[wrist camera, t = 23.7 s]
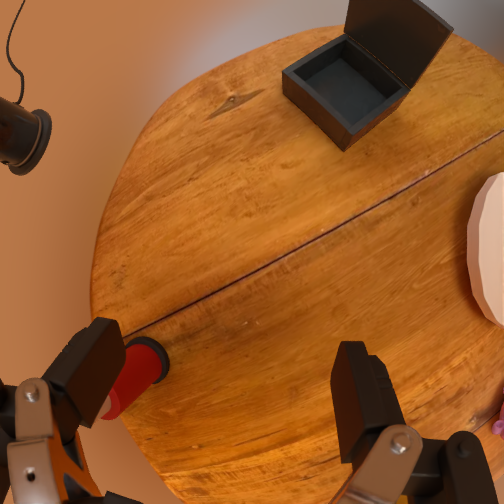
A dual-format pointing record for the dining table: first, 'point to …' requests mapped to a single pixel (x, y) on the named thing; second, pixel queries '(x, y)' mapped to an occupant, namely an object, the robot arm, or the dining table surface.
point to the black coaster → (157, 349)
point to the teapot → (499, 423)
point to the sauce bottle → (131, 380)
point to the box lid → (398, 34)
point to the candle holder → (488, 249)
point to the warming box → (343, 89)
